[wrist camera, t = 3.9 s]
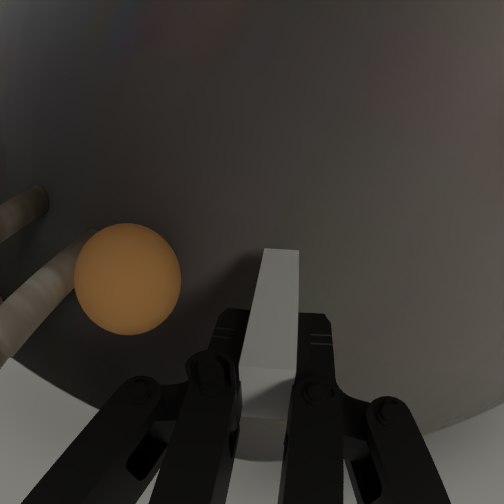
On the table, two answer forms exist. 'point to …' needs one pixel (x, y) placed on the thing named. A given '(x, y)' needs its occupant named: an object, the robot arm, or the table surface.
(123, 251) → the ball
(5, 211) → the pin
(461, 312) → the table surface
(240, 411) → the robot arm
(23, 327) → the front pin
